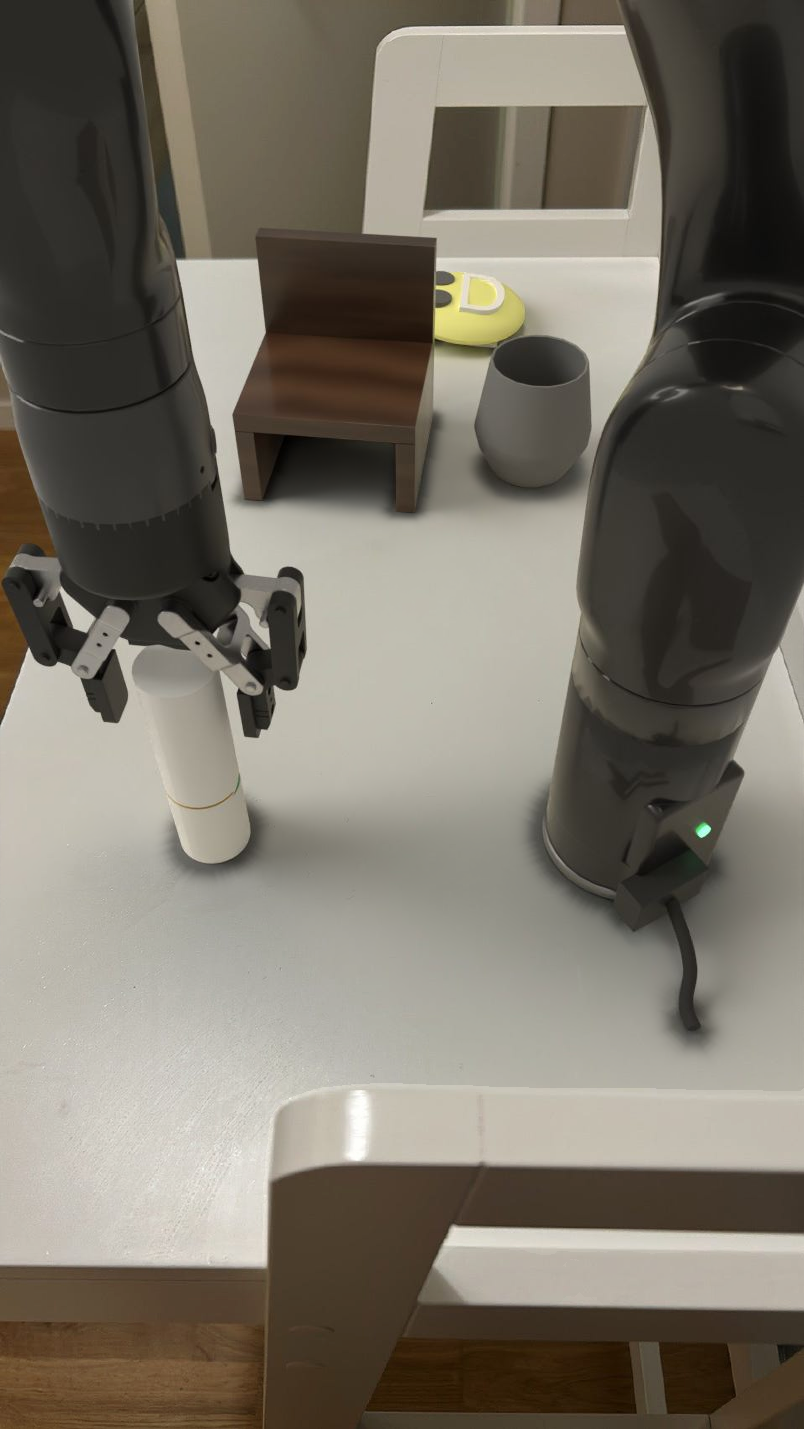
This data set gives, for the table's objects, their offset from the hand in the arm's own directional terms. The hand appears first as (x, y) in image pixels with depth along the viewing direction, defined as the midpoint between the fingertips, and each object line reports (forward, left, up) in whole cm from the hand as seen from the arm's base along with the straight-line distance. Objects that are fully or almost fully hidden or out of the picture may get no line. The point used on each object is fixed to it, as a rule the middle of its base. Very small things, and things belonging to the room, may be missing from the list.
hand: (186, 717), depth 56 cm
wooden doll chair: (+29, -25, -11) cm, 40 cm away
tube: (0, 0, -11) cm, 11 cm away
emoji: (+42, -46, -11) cm, 63 cm away
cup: (+20, -38, -11) cm, 44 cm away
